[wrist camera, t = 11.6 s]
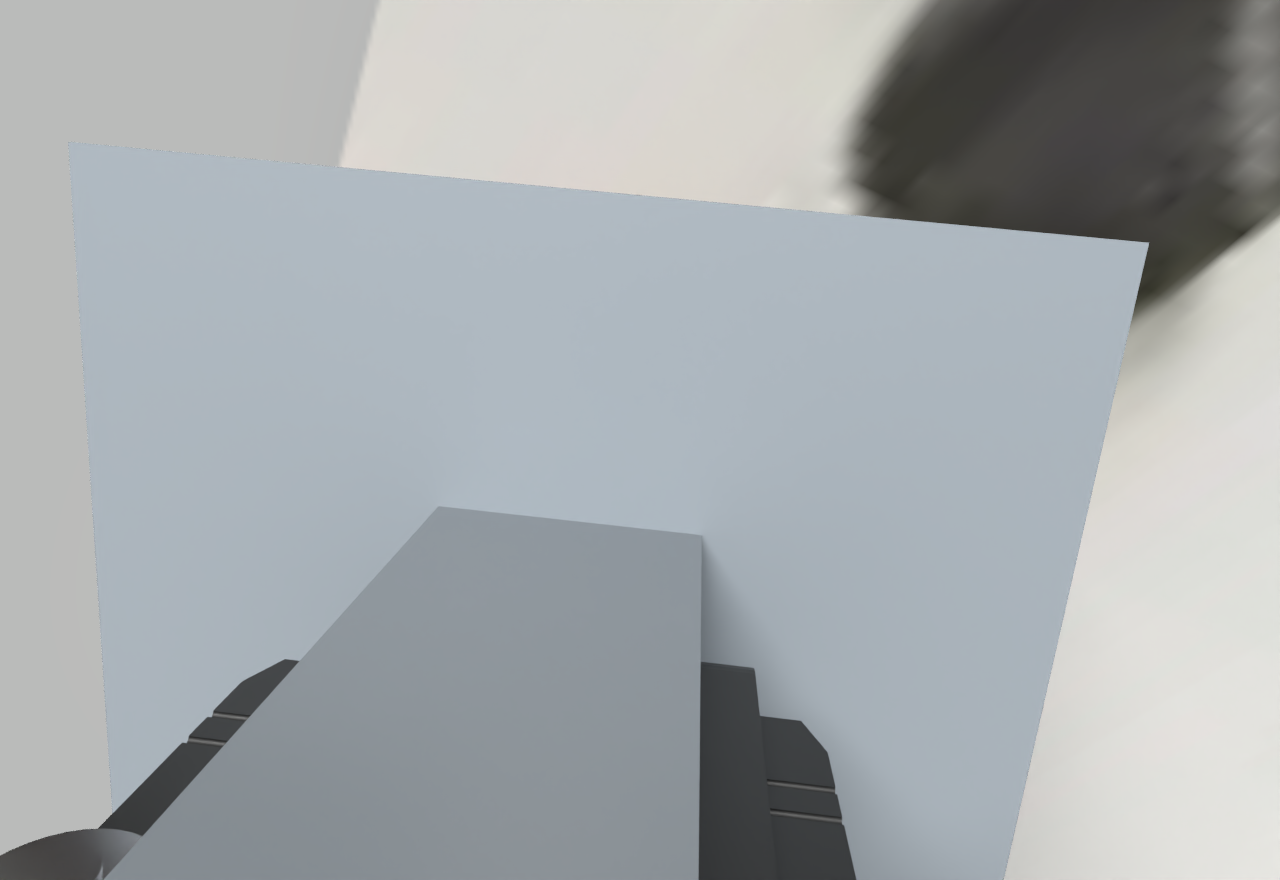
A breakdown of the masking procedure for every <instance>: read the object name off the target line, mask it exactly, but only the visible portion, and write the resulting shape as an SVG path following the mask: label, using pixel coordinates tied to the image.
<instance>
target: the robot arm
mask: <svg viewBox="0 0 1280 880" xmlns="http://www.w3.org/2000/svg"><path fill="white" fill-rule="evenodd" d="M298 662H299V661H297V660H289V659H284V660H282V661H280V662H278V663H276V664H274V665H273V666H271V667H269V668H267V669H265V670H263V671H261V672H259V673H257V674H255V675H253V676H251V677H249V678H248V679H246V680H244V681H242V682H241V683H240V684H239V685H238V686H237V687H236V688H235V689H234V690H233V691H232V692H231V693H230V694H229V695H228V696H227V697H226V698H225V699H224V700H223V701H222V702H221V703H220V704H219V705H218V706H217V707H216V708H215V709H214V710H213V715H212V717H207V718H206V719H205V720H204V721H203V722H202V723H201V724H200V725H199V726H198V727H197V728H196V729H195V730H194V731H193V732H192V733H191V734H190V735H189V737H188V741H187V743H181V744H180V745H179V746H178V747H177V748H176V749H175V750H174V751H173V752H172V753H171V754H170V755H169V756H168V757H167V758H166V759H165V761H164V762H163V763H162V764H161V765H160V766H159V767H158V768H157V769H156V770H155V771H154V772H153V773H152V774H151V775H150V776H149V777H148V778H147V779H146V780H145V781H144V782H143V783H142V784H141V785H140V786H139V787H138V788H137V789H136V790H135V791H134V792H133V793H132V794H131V795H130V796H129V797H128V798H127V799H126V800H125V801H124V802H123V803H122V804H121V806H120V807H119V808H118V809H117V810H116V811H115V812H114V813H113V814H112V815H111V816H110V817H109V818H108V819H107V820H106V821H105V822H104V823H103V824H102V825H101V826H100V827H99V828H98V829H83V830H77V831H70V832H64V833H60V834H56V835H52V836H48V837H44V838H41V839H38V840H35V841H32V842H29V843H27V844H24V845H22V846H19V847H17V848H15V849H12V850H10V851H8V852H6V853H4V854H2V855H0V880H104V879H105V878H106V876H107V875H108V874H109V873H110V872H111V871H112V870H113V869H114V868H115V866H116V865H117V864H118V863H119V862H120V861H121V860H122V859H123V857H124V856H125V855H126V854H127V853H128V852H129V851H130V850H131V849H132V847H133V846H134V845H135V844H136V843H137V842H138V841H139V840H140V839H141V837H142V836H143V835H144V834H145V833H146V832H147V831H148V830H149V828H150V827H151V826H152V825H153V824H154V823H155V822H156V821H157V820H158V818H159V817H160V816H161V815H162V814H163V813H164V812H165V811H166V810H167V808H168V807H169V806H170V805H171V804H172V803H173V802H174V801H175V800H176V798H177V797H178V796H179V795H180V794H181V793H182V792H183V791H184V789H185V788H186V787H187V786H188V785H189V784H190V783H191V782H192V781H193V779H194V778H195V777H196V776H197V775H198V774H199V773H200V772H201V771H202V769H203V768H204V767H205V766H206V765H207V764H208V763H209V762H210V760H211V759H212V758H213V757H214V756H215V755H216V754H217V753H218V752H219V750H220V749H221V748H222V747H223V746H224V745H225V744H226V743H227V742H228V740H229V739H230V738H231V737H232V736H233V735H234V734H235V733H236V731H237V730H238V729H239V728H240V727H241V726H242V725H243V724H244V723H245V721H246V720H247V719H248V718H249V717H250V716H251V715H252V714H253V713H254V711H255V710H256V709H257V708H258V707H259V706H260V705H261V704H262V702H263V701H264V700H265V699H266V698H267V697H268V696H269V695H270V694H271V692H272V691H273V690H274V689H275V688H276V687H277V686H278V685H279V684H280V682H281V681H282V680H283V679H284V678H285V677H286V676H287V675H288V673H289V672H290V671H291V670H292V669H293V668H294V667H295V666H296V665H297V663H298ZM835 788H836V787H835V782H834V778H833V774H832V769H831V765H830V760H829V756H828V752H827V751H826V750H825V749H824V747H823V746H822V745H821V744H820V743H819V741H818V740H817V739H816V738H815V737H814V736H813V734H812V733H811V732H810V731H809V730H808V728H807V727H806V726H805V725H804V724H803V722H802V721H799V720H790V719H782V718H773V717H765V716H760V712H759V703H758V694H757V685H756V675H755V669H754V668H752V667H743V666H734V665H726V664H717V663H708V662H701V672H700V779H699V880H856V876H855V871H854V867H853V862H852V858H851V853H850V849H849V845H848V840H847V836H846V831H845V827H844V825H842V813H841V809H840V805H839V800H838V796H837V794H835Z"/></svg>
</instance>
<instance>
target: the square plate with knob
mask: <svg viewBox="0 0 1280 880" xmlns="http://www.w3.org/2000/svg"><path fill="white" fill-rule="evenodd" d="M68 146H69V161H70V175H71V191H72V207H73V222H74V236H75V252H76V267H77V282H78V297H79V313H80V327H81V343H82V356H83V357H82V358H83V371H84V372H83V373H84V389H85V403H86V419H87V434H88V448H89V465H90V478H91V479H90V480H91V495H92V510H93V524H94V540H95V555H96V571H97V586H98V601H99V616H100V631H101V647H102V660H103V661H102V662H103V677H104V692H105V707H106V722H107V737H108V752H109V766H110V767H109V768H110V783H111V798H112V814H113V813H114V812H115V811H116V810H117V809H118V808H119V807H120V806H121V804H122V803H123V802H124V801H125V800H126V799H127V798H128V797H129V796H130V795H131V794H132V793H133V792H134V791H135V790H136V789H137V788H138V787H139V786H140V785H141V784H142V783H143V782H144V781H145V780H146V779H147V778H148V777H149V776H150V775H151V774H152V773H153V772H154V771H155V770H156V769H157V768H158V767H159V766H160V765H161V764H162V763H163V762H164V761H165V759H166V758H167V757H168V756H169V755H170V754H171V753H172V752H173V751H174V750H175V749H176V748H177V747H178V746H179V745H180V744H181V743H187V741H188V737H189V735H190V734H191V733H192V732H193V731H194V730H195V729H196V728H197V727H198V726H199V725H200V724H201V723H202V722H203V721H204V720H205V719H206V718H207V717H212V715H213V710H214V709H215V708H216V707H217V706H218V705H219V704H220V703H221V702H222V701H223V700H224V699H225V698H226V697H227V696H228V695H229V694H230V693H231V692H232V691H233V690H234V689H235V688H236V687H237V686H238V685H239V684H240V683H241V682H242V681H244V680H246V679H248V678H249V677H251V676H253V675H255V674H257V673H259V672H261V671H263V670H265V669H267V668H269V667H271V666H273V665H274V664H276V663H278V662H280V661H282V660H284V659H289V660H297V661H299V662H298V663H297V665H296V666H295V667H294V668H293V669H292V670H291V671H290V672H289V673H288V675H287V676H286V677H285V678H284V679H283V680H282V681H281V682H280V684H279V685H278V686H277V687H276V688H275V689H274V690H273V691H272V692H271V694H270V695H269V696H268V697H267V698H266V699H265V700H264V701H263V702H262V704H261V705H260V706H259V707H258V708H257V709H256V710H255V711H254V713H253V714H252V715H251V716H250V717H249V718H248V719H247V720H246V721H245V723H244V724H243V725H242V726H241V727H240V728H239V729H238V730H237V731H236V733H235V734H234V735H233V736H232V737H231V738H230V739H229V740H228V742H227V743H226V744H225V745H224V746H223V747H222V748H221V749H220V750H219V752H218V753H217V754H216V755H215V756H214V757H213V758H212V759H211V760H210V762H209V763H208V764H207V765H206V766H205V767H204V768H203V769H202V771H201V772H200V773H199V774H198V775H197V776H196V777H195V778H194V779H193V781H192V782H191V783H190V784H189V785H188V786H187V787H186V788H185V789H184V791H183V792H182V793H181V794H180V795H179V796H178V797H177V798H176V800H175V801H174V802H173V803H172V804H171V805H170V806H169V807H168V808H167V810H166V811H165V812H164V813H163V814H162V815H161V816H160V817H159V818H158V820H157V821H156V822H155V823H154V824H153V825H152V826H151V827H150V828H149V830H148V831H147V832H146V833H145V834H144V835H143V836H142V837H141V839H140V840H139V841H138V842H137V843H136V844H135V845H134V846H133V847H132V849H131V850H130V851H129V852H128V853H127V854H126V855H125V856H124V857H123V859H122V860H121V861H120V862H119V863H118V864H117V865H116V866H115V868H114V869H113V870H112V871H111V872H110V873H109V874H108V875H107V876H106V878H105V879H104V880H699V779H700V672H701V662H708V663H717V664H726V665H734V666H743V667H752V668H754V669H755V675H756V685H757V694H758V703H759V712H760V716H765V717H773V718H782V719H790V720H799V721H802V722H803V724H804V725H805V726H806V727H807V728H808V730H809V731H810V732H811V733H812V734H813V736H814V737H815V738H816V739H817V740H818V741H819V743H820V744H821V745H822V746H823V747H824V749H825V750H826V751H827V752H828V756H829V760H830V765H831V769H832V774H833V778H834V782H835V787H836V788H835V794H837V796H838V800H839V805H840V809H841V813H842V825H844V827H845V831H846V836H847V840H848V845H849V849H850V853H851V858H852V862H853V867H854V871H855V876H856V880H1004V876H1005V871H1006V867H1007V863H1008V858H1009V854H1010V849H1011V845H1012V841H1013V836H1014V832H1015V827H1016V823H1017V819H1018V814H1019V810H1020V806H1021V801H1022V797H1023V792H1024V788H1025V784H1026V779H1027V775H1028V770H1029V766H1030V762H1031V757H1032V753H1033V749H1034V744H1035V740H1036V735H1037V731H1038V727H1039V722H1040V718H1041V714H1042V709H1043V705H1044V700H1045V696H1046V692H1047V687H1048V683H1049V678H1050V674H1051V670H1052V665H1053V661H1054V657H1055V652H1056V648H1057V643H1058V639H1059V635H1060V630H1061V626H1062V622H1063V617H1064V613H1065V608H1066V604H1067V600H1068V595H1069V591H1070V586H1071V582H1072V578H1073V573H1074V569H1075V565H1076V560H1077V556H1078V551H1079V547H1080V543H1081V538H1082V534H1083V530H1084V525H1085V521H1086V516H1087V512H1088V508H1089V503H1090V499H1091V494H1092V490H1093V486H1094V481H1095V477H1096V473H1097V468H1098V464H1099V459H1100V455H1101V451H1102V446H1103V442H1104V438H1105V433H1106V429H1107V424H1108V420H1109V416H1110V411H1111V407H1112V402H1113V398H1114V394H1115V389H1116V385H1117V381H1118V376H1119V372H1120V367H1121V363H1122V359H1123V354H1124V350H1125V346H1126V341H1127V337H1128V332H1129V328H1130V324H1131V319H1132V315H1133V310H1134V306H1135V302H1136V297H1137V293H1138V289H1139V284H1140V280H1141V275H1142V271H1143V267H1144V262H1145V258H1146V253H1147V249H1148V245H1149V243H1145V242H1134V241H1123V240H1112V239H1102V238H1091V237H1080V236H1070V235H1059V234H1048V233H1038V232H1027V231H1016V230H1006V229H995V228H984V227H974V226H963V225H952V224H941V223H931V222H920V221H909V220H899V219H888V218H877V217H867V216H856V215H845V214H835V213H824V212H813V211H802V210H792V209H781V208H770V207H760V206H749V205H738V204H728V203H717V202H706V201H696V200H685V199H674V198H664V197H653V196H642V195H631V194H621V193H610V192H599V191H589V190H578V189H567V188H557V187H546V186H535V185H525V184H514V183H503V182H492V181H482V180H471V179H460V178H450V177H439V176H428V175H418V174H407V173H396V172H386V171H375V170H364V169H353V168H343V167H331V166H320V165H311V164H300V163H289V162H278V161H268V160H257V159H247V158H236V157H225V156H214V155H204V154H193V153H182V152H172V151H161V150H150V149H140V148H129V147H118V146H107V145H97V144H86V143H75V142H68Z"/></svg>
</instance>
